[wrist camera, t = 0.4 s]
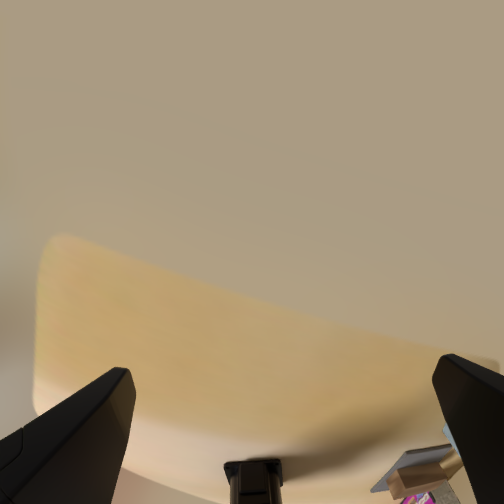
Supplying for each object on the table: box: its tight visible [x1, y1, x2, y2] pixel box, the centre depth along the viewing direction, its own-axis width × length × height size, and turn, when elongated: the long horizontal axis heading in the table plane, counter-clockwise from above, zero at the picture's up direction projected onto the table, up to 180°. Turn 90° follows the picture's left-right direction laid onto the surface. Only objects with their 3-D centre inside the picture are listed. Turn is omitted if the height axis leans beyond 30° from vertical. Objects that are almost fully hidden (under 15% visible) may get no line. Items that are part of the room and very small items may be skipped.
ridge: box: [386, 462, 447, 500], centre depth 28 cm, size 3×9×4 cm, turn 75°
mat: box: [370, 444, 452, 493], centre depth 30 cm, size 10×10×1 cm
